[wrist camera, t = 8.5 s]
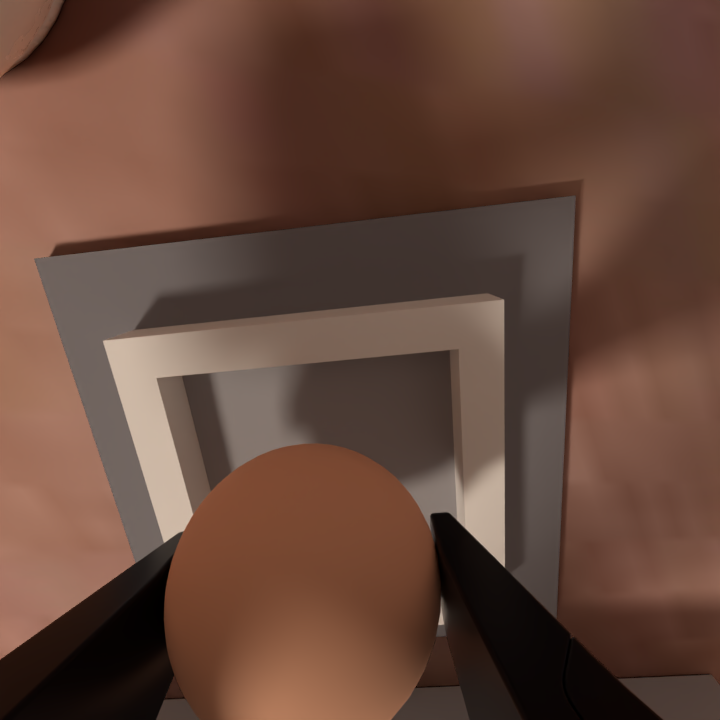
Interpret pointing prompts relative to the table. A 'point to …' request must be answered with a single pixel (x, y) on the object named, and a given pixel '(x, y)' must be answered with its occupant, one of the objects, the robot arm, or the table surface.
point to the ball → (303, 591)
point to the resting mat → (337, 365)
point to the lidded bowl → (24, 28)
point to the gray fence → (449, 716)
